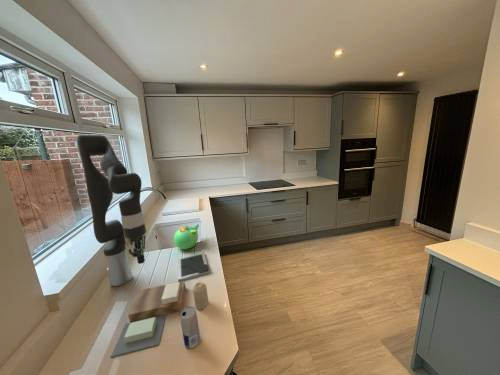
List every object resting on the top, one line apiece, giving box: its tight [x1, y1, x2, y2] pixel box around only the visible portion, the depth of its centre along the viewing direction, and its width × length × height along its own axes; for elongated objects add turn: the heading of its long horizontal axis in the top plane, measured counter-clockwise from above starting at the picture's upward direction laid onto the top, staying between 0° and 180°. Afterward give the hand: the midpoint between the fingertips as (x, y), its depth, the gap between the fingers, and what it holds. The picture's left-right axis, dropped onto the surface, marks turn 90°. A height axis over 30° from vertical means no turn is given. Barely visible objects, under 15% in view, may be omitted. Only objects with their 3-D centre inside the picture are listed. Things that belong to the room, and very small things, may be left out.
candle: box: [192, 282, 209, 311], centre depth 84 cm, size 6×6×10 cm
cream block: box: [162, 281, 181, 304], centre depth 86 cm, size 9×6×2 cm, turn 13°
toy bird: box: [173, 223, 200, 250], centre depth 135 cm, size 18×17×15 cm
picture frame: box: [177, 252, 210, 282], centre depth 113 cm, size 16×3×21 cm
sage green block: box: [124, 317, 156, 343], centre depth 73 cm, size 9×6×2 cm, turn 103°
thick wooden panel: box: [127, 280, 187, 323], centre depth 87 cm, size 20×14×4 cm
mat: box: [110, 314, 167, 358], centre depth 73 cm, size 15×13×1 cm
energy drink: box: [179, 306, 201, 349], centre depth 68 cm, size 5×5×12 cm
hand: (141, 262), depth 82 cm, fingers closed
